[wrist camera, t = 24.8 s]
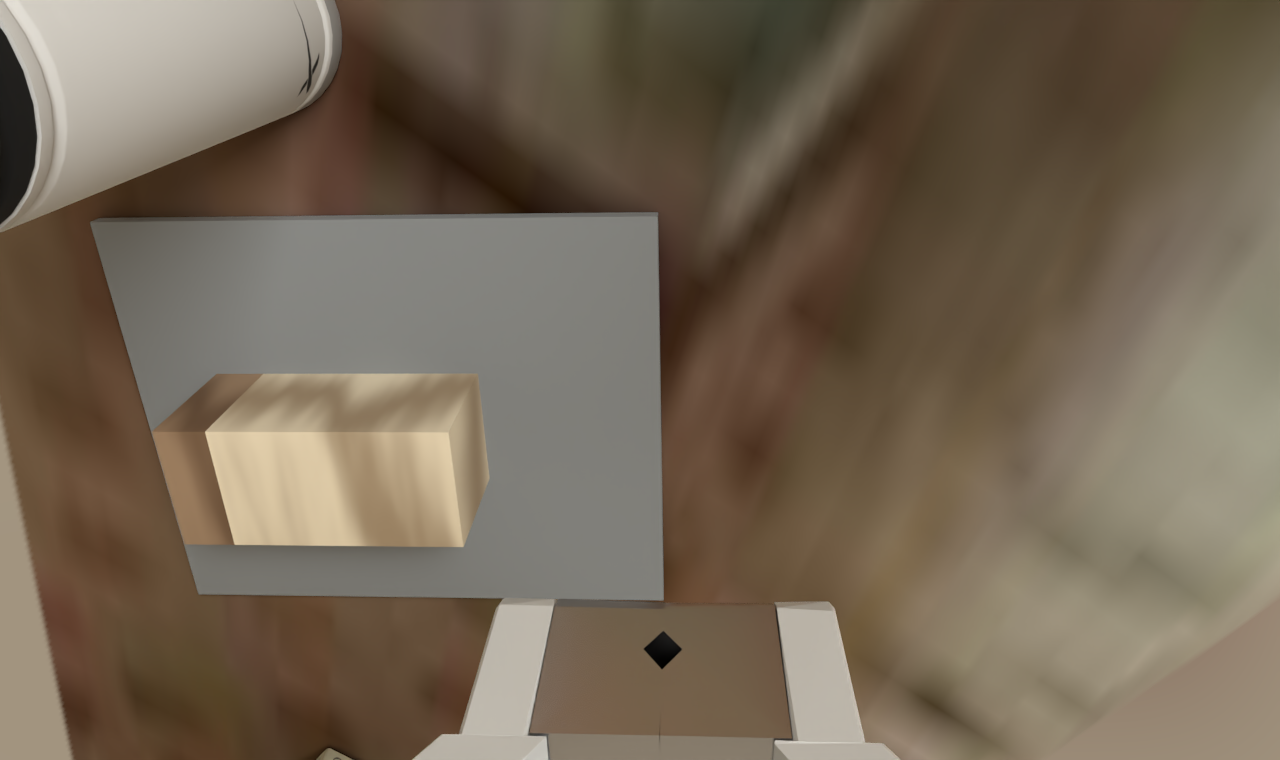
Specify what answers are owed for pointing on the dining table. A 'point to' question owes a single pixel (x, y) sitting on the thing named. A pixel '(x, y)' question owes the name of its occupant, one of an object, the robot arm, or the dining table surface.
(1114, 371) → the dining table surface
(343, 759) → the skincare box
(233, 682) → the dining table surface
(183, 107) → the travel mug
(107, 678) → the dining table surface
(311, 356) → the grey mat
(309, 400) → the birch block
